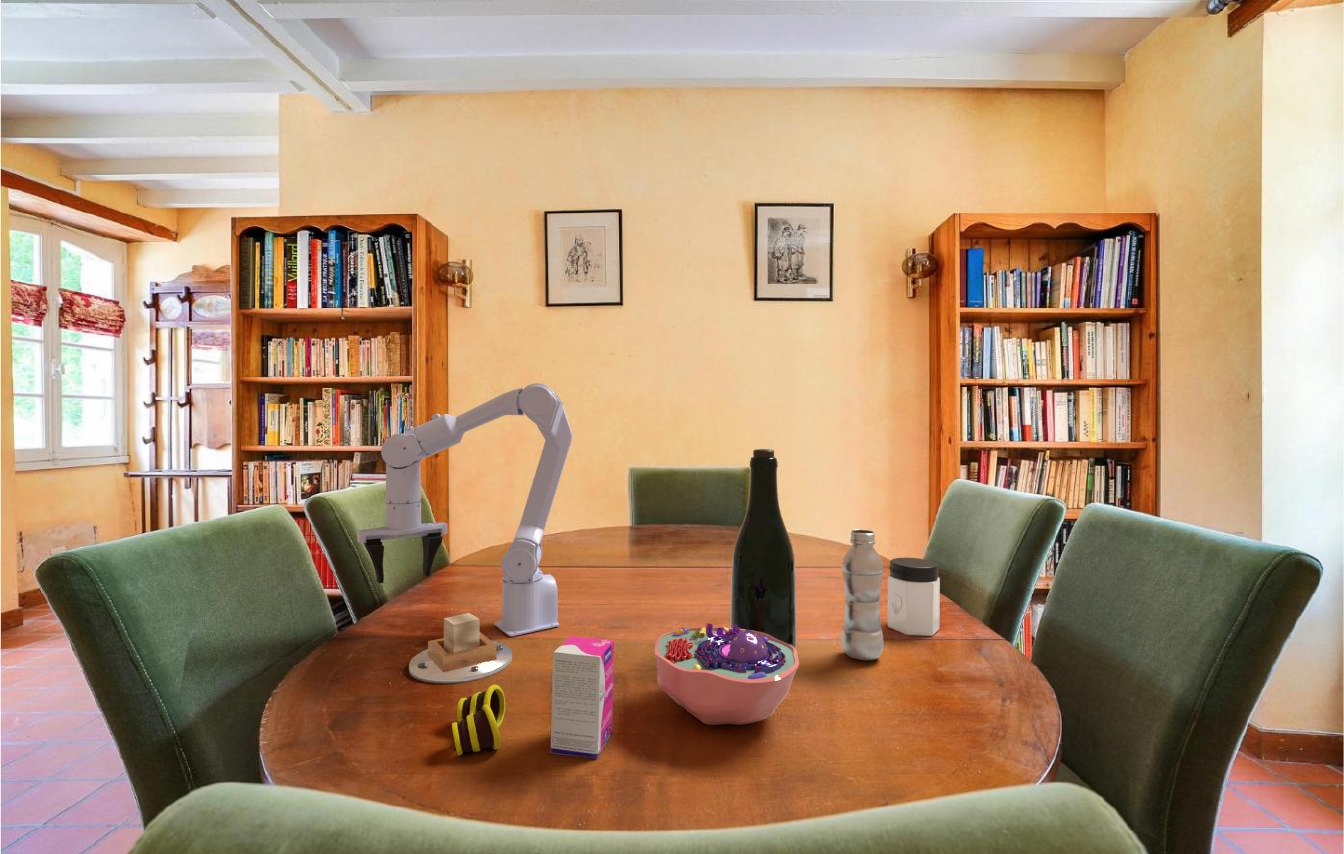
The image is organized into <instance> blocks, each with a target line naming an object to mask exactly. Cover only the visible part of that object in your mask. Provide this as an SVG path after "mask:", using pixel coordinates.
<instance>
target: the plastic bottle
mask: <svg viewBox="0 0 1344 854" xmlns="http://www.w3.org/2000/svg"><path fill="white" fill-rule="evenodd" d="M849 541H850V543H851V547H850V548H849V549H848V551H847V552H846V553H845V555H844V557H843V559H842V561H841V570H842V576H843V577H842V578H843V583H844V585H843V586H844V597H845V600H844V601H845V603H844V604H845V607H844V618H843V619H844V620H843V625H842V629H841V637H840V641H841V646H842V650H843V651H844V654H846V655H847V656H848V657H850V658H851V659H855V660H860V661H874V660H877V659H878V658H880V656H881V655H882V654H883V650H884V645H885V643H884V642H885V641H884V635H883V629H882V624H881V623H882V622H881V620H882V619H881V611H880V610H881V609H880V607H881V606H880V605H881V602H880V601H881V590H882V589H881V588H882V583H883V578H884V577H883V575H884V574H883V573H884V568H885V567H884V563H883V560H882V558H881V556H880V555H879V553H878V552H877V550H876V549H875V547H874V545H876V539H875V531H874V530H870V529H851V531H850V539H849Z"/></svg>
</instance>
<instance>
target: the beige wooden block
mask: <svg viewBox="0 0 1344 854" xmlns="http://www.w3.org/2000/svg"><path fill="white" fill-rule="evenodd" d="M480 622H481V621H480V618H478V617H477V616H475V615H473V614H471V613H470V612H467V613H462V614H458V615H453V616H449V617H448V616H447V617H444V618H443V638H444V650H445V651H446V652H447V653H448V654H449V653H453V652H458V651H462V650H467V649H472V648H476V647H480V632H481V631H480V627H481V626H480Z"/></svg>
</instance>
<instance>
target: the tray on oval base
mask: <svg viewBox="0 0 1344 854" xmlns="http://www.w3.org/2000/svg"><path fill="white" fill-rule="evenodd" d="M512 660H513V650H512V649H511V647H509V646H508V645H507V644H505V643H502V642H497V641H493V640H490V638H488V637H487V636H486V635H485V634H483V633H482V632H481V631H480V647H476V648H472V649H467V650H462V651H458V652H453V653H449V654H448V653H447V652H446V651H445V650H444V637H443V638H438V639H433V640H428V641H427V649H425V650H422V651H420V652H419V653H417V654H416V655H415V656H413V657H412V658H411V660H410V661H409V664H408V671H409V674H410V676H411V677H413V678H414V679H416V680H418V681H422V682H424V683H431V684H443V685H446V684H448V685H449V684H460V683H468V682H473V681H476V680H481V679H484V678H487V677H488V678H489V677H490V676H493V675H495V674H497V673H499V672H501V671H503V670H504V669H506V668H507V667H508V666H509V665H510V664H511V662H512Z"/></svg>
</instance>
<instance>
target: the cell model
mask: <svg viewBox="0 0 1344 854" xmlns="http://www.w3.org/2000/svg"><path fill="white" fill-rule="evenodd" d="M798 654H799V653H798V650H797V648H796V649H795V648H794V647H793V646H792V645H790V644H788V643H785V642H783V641H781V640H778V639H776V638H774V637H772V636H770V635H768V634H765V633H763V632H757V631H752V630H746V629H740V628H739V627H738V628H737V625H735V624H734V625H733V628H730V627H725V626H722V627H720V626H719V627H715V626H714V625H713V624H712V623H710V622H709V623H706V625H705V626H694V627H693V626H691V627H687V628H686V627H681V628H679V629H678V630H674V631H670V632H666V633H664V634H662V635H660V636H658V637H657V639H656V640H655V643H654V655H655V662H656V669H657V670H656V671H657V672H656V675H657V679H656V680H657V685H658V686H659V688H660V689H661V690H663V692H665V693H666V694H667V696H668V697H669V698H671V700H673V702H674V703H676V704H677V705H679V706H680V707H682V708H683V709H685V710H686V711H687V712H688V713H689V714H690V715H692V716H693V717H695V719H697V720H699V722H700V723H701V722H702V723H703V724H706V725H710V726H716V725H717V726H718V725H726V724H727V725H737V726H746V725H750V724H753V723H757V722H760V721H763V720H765V719H768V718H770V717H771V716H772V715H773V714H774V712H775V711H776V710H777V708H778V706H780V704H781V703H782V702H783V701H784V700H785V698H786V697H787V695H788V693H789V691H790V688H791V685H792V682H793V680H794V677H795V675H796V672H797V670H798V668H799V665H800V660H799V657H798Z"/></svg>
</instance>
